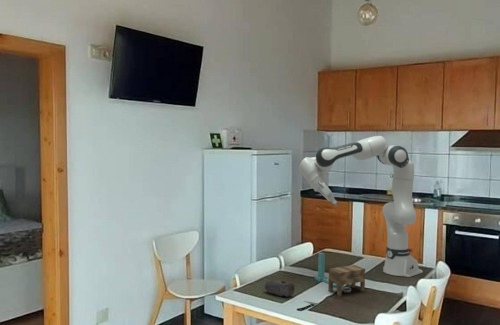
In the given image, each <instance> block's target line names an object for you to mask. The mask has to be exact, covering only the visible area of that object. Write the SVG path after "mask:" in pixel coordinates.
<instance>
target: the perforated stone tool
mask: <svg viewBox="0 0 500 325" xmlns="http://www.w3.org/2000/svg"><path fill="white" fill-rule="evenodd" d="M264 289H265V290H266V292H268V293H269V294H274V295H275V296H279V297H286V298H289V297H292V296H293V295H294V293H295V284H294V283H293V282H289V281H285V280H270V281H266V282H265V284H264Z"/></svg>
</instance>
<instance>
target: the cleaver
mask: <svg viewBox="0 0 500 325" xmlns="http://www.w3.org/2000/svg"><path fill="white" fill-rule="evenodd" d="M303 302H304V303H307V304H308V305H306V306H303V307H298V308H296V311H298V312H302V311H305V310H308V309H310V308H313V307H315V306H317V305H320V303H318V302H312V301H308V300H307V301H306V300H304V301H303Z"/></svg>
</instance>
